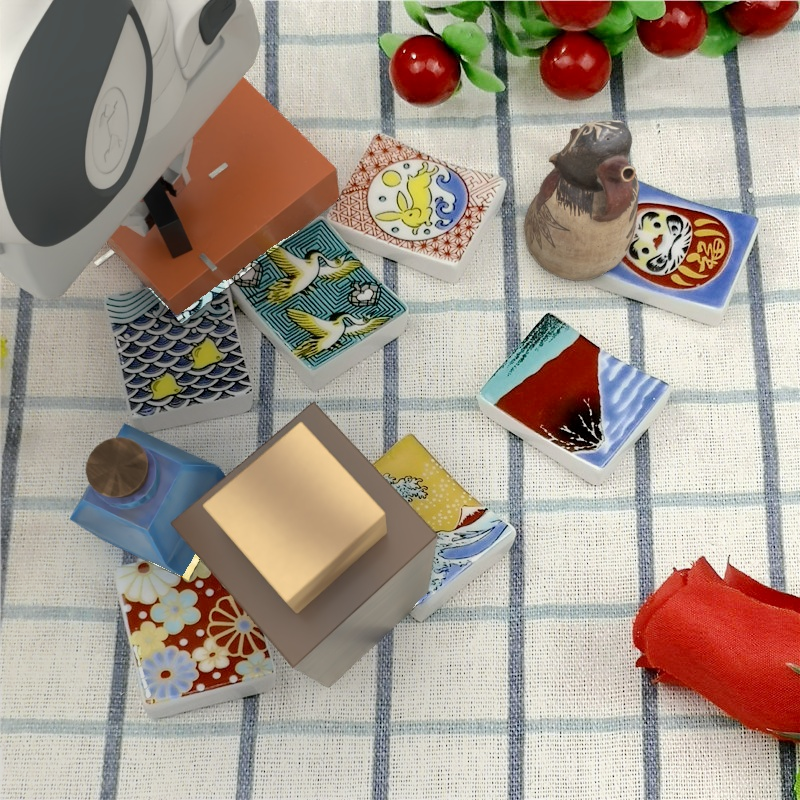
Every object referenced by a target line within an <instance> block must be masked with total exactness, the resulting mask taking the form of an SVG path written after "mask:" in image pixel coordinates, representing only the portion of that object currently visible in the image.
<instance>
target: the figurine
mask: <svg viewBox="0 0 800 800" xmlns="http://www.w3.org/2000/svg"><path fill="white" fill-rule="evenodd" d="M569 133H570V135H569V140H568V142H567V144H566V145H565V146H564V147H563V148H562V149H561V150H560V151H558V152H557V153H554V154H552V155H551V156H550V157H549V159H548V162H549V163H551V164H552V165H553V166H554V168H553V169H552V170H551V171H550V172H549V173H548V174H547V175H546V176H545V177H544V178H543V181H542V182H541V185H540V186H539V190H538V193H537V194H536V195H535V196H534V198H533V199H532V201H531V202H530V204H529V206H528V208H527V211H526V213H525V217H524V224H523V229H524V237H525V242H526V246H527V248H528V251H529V252H530V253H531V255H532V257H533V258H534V259H535V261H536V262H537V263H538V264H539V265H540V266H541V267H542V268H543V269H545V270H546V271H547V272H549V273H551V274H553V275H555V276H557V277H558V278H559V277H560V278H562V279H566V280H567V279H568V280H571V281H589V280H591V279H595V278H598V277H601V276H603V275H605V274H606V273H608V272H610V271H611V270H613V269H614V268H616V267H617V266H618V265H619V264H620V262H621V261H622V260H623V259H624V257H626V255H627V254H628V251H629V249H630V247H631V244H632V242H633V239H634V235H635V230H636V229H635V228H636V223H637V219H638V218H637V215H638V206H639V195H640V184H639V180H638V175H637V173H636V168H635V167H634V166H633V165H631V164H629V154H630V151H631V148H632V144H633V137H632V136H633V135H632V132H631V131H630V129H629V128H628V127H627V126H626V124H625V122H624V121H622V120H616V119H615V120H614V119H613V120H612V119H609V120H608V119H607V120H605V119H604V120H594V121H589V122H586V123H584V124H582V125H581V126H580V127H578V128H572V129H571V130H570V132H569ZM607 271H608V272H607ZM604 273H605V274H604ZM602 274H603V275H602Z"/></svg>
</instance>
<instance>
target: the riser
mask: <svg viewBox="0 0 800 800" xmlns="http://www.w3.org/2000/svg"><path fill="white" fill-rule="evenodd" d="M299 422H302V423H303V424H304V425H305V426H306V427H307V428H308V429H309V430H310V431H311V432H312V433H313V435H314V436H315V437H316V438H317V439H318V440H319V441H320V442H321V443H322V444H323V445H324V446H325V448H326V449H327V450H328V451H329V452H330V453H331V454H332V455H333V456H334V457H335V458H336V460H337V461H338V462H339V463H340V464H341V465H342V466H343V467H344V468H345V469H346V470H347V471H348V473H349V474H350V475H351V476H352V477H353V478H354V479H355V480H356V481H357V482H358V483H359V484H360V486H361V487H362V488H363V489H364V490H365V491H366V492H367V493H368V494H369V495H370V496H371V498H372V499H373V500H374V501H375V502H376V503H377V504H378V505H379V506H380V507H381V508H382V509H383V511H384V512H385V515H386V526H387V534H386V535H385V536H383V537H382V538H381V539H380V540H379V541H378V542H377V543H376V544H375V545H373V546H372V547H371V548H370V549H369V550H368V551H367V552H366V553H365V554H363V555H362V556H361V557H360V558H359V559H358V560H357V561H356V562H355V563H353V564H352V565H351V566H350V567H349V568H348V569H347V570H346V571H345V572H343V573H342V574H341V575H340V576H339V577H338V578H337V579H336V580H335V581H333V582H332V583H331V584H330V585H329V586H328V587H327V588H326V589H325V590H323V591H322V592H321V593H320V594H319V595H318V596H317V597H316V598H315V599H314V600H312V601H311V602H310V603H309V604H308V605H307V606H306V607H305V608H304V609H302V610H301V611H300V612H299V613H295V612H294V611H293V610H292V609H291V608H290V606H289V605H288V604H287V603H286V602H285V601H284V600H283V599H282V598H281V596H280V595H279V594H278V593H277V592H276V591H275V589H274V588H273V587H272V586H271V585H270V584H269V582H268V581H267V580H266V579H265V578H264V577H263V576H262V574H261V573H260V572H259V571H258V570H257V569H256V567H255V566H254V565H253V564H252V563H251V562H250V561H249V559H248V558H247V557H246V556H245V555H244V554H243V552H242V551H241V550H240V549H239V548H238V547H237V545H236V544H235V543H234V542H233V541H232V540H231V539H230V537H229V536H228V535H227V534H226V533H225V532H224V530H223V529H222V528H221V527H220V526H219V525H218V523H217V522H216V521H215V520H214V519H213V518H212V517H211V515H210V514H209V513H208V512H207V511H206V510H205V508H204V507H203V504H204V503H205V502H206V501H208V500H209V499H210V498H211V497H212V496H213V495H215V494H216V493H217V492H218V491H219V490H220V489H222V488H223V487H224V486H225V485H226V484H228V483H229V482H230V481H231V480H232V479H233V478H235V477H236V476H237V475H238V474H239V473H241V472H242V471H243V470H244V469H245V468H246V467H248V466H249V465H250V464H251V463H252V462H253V461H255V460H256V459H257V458H258V457H259V456H261V455H262V454H263V453H264V452H265V451H266V450H268V449H269V448H270V447H271V446H272V445H274V444H275V443H276V442H277V441H278V440H279V439H281V438H282V437H283V436H284V435H285V434H286V433H288V432H289V431H290V430H291V429H292V428H294V427H295V426H296V425H297V424H298V423H299ZM171 525H172V527H173V528H174V529H175V530H176V531H177V532H178V534H179V535H180V536H181V537H182V538H183V539H184V541H185V542H186V543H187V544H188V545H189V547H190V548H191V549H192V550H193V551H194V552H195V554H196V555H197V556H198V557H199V558H200V562H202V563H203V564H204V565H205V567H206V568H207V570H209V572H210V573H211V574H212V575H213V577H215V578H216V579H217V581H218V582H219V584H220V585H222V587H223V588H224V589H225V590H226V592H227V593H228V594H229V595H230V596H231V598H232V599H233V600H234V601H235V602H236V604H238V606H239V607H240V608H241V609H242V610H243V612H244V613H245V614H246V616H248V618H249V619H250V620H251V621H252V622H253V623H254V625H255V626H256V627H257V628H258V629H259V630H260V632H261V633H262V634H263V635H264V636H265V638H266V639H267V640H268V641H269V642H270V643H271V645H272V646H273V647H274V648H275V649H276V650H277V651H278V653H279V654H280V655H281V656H282V657H283V659H284V660H285V661H286V663H288V664H289V665H290V667H291V668H293V669H294V670H296V671H298V672H300V673H302V674H303V675H305V676H307V677H308V678H310V679H312V680H313V681H315V682H317V683H319V684H320V685H323V686H324V687H326V688H328V689H329V688H331V687H332V686H333V685H334V684H336V682H337V681H338V680H339V679H340V678H342V677H343V676H344V675H345V674H346V673H347V672H348V671H349V670H350V669H351V668H353V667H354V666H355V665H356V663H357V662H359V661H361V659H363V657H364V656H365V655H367V654H368V653H369V652H370V651H371V649H373V648H374V647H375V646H376V645H377V644H378V643H379V642H380V641H381V640H382V639H383V638H385V637H386V636H387V634H389V633H390V632H391V631H392V630H393V629H394V628H395V627H397V625H399V624H400V623H401V622H402V621H403V620H404V619H406V617H407V616H408V615H409V614H411V612H413V610H414V609H413V607H414V606H415V604H416V603H417V602H418V601H419V600H420V599H421V598H422V597H424V596H425V595H426V594H427V593H428V594H429V590H430V589H429V588H430V582H431V579H432V578H431V577H432V573H433V572H432V571H433V566H434V561H435V555H436V550H437V549H436V548H437V543H438V536H439V535H438V533H437V531H435V530H434V528H432V527H431V526H430V525H429V523H428V522H427V521H426V520H425V519H424V518H423V517H422V516H421V515H420V514H419V513H418V512H417V511H416V509H414V507H413V506H412V505H411V504H410V503H409V502H408V501H407V500H406V498H404V497H403V495H402V494H400V492H399V491H398V490H397V489H396V488H395V487H394V486H393V485H392V484H391V483H390V481H389V480H388V479H387V478H386V477H385V476H384V474H382V473H381V472H380V471H379V470H378V469H377V468H376V467H375V466H374V464H373V463H371V461H370V460H369V459H368V458H367V457H366V456H365V454H363V452H362V451H361V450H360V449H359V448H358V447H357V446H356V444H354V443H353V442H352V440H350V438H349V437H348V436H346V434H345V433H344V432H343V431H342V430H341V429H340V428H339V427H338V426H337V425H336V424H335V422H334V421H333V420H332V419H331V418H330V417H329V416H328V415H327V414H326V413H325V412H324V411H323V410H322V408H321V407H320V406H318V404H317V403H316V402H315V401H314V402H311V403H310V404H309V405H308V406H306V407H305V408H304V409H303V410H302V411H301V412H300V413H298V414H297V415H296V416H295V417H293V418H292V419H291V420H290V421H289V422H287V424H285V425H284V426H283V427H282V428H280V429H278V431H277V432H276V433H274V435H272V436H271V437H270V438H269V439H268V440H266V441H265V442H264V443H263V444H262V445H260V446H259V447H257V448H256V450H254V451H253V452H252V453H251V454H250V455H249V456H247V457H246V458H244V460H243V461H242V462H240V463H239V464H238V465H237V466H236V467H235V468H233V469H232V470H231V471H230V472H228V473H227V474H225V477H224V478H223V479H222V480H220V481H219V482H218V483H217V484H216V485H214V486H213V487H212V488H211V489H210V490H209V491H207V492H206V493H205V494H204V495H203V496H201V497H200V498H199V499H198V500H197V501H196V502H194V503H193V504H192V505H191V506H190V507H188V508H187V509H186V510H185V511H184V512H183V513H181V514H180V515H179V516H178V517H177V518H175V519H174V520H173V521H172V522H171ZM412 609H413V610H412Z"/></svg>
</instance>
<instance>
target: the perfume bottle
mask: <svg viewBox="0 0 800 800" xmlns="http://www.w3.org/2000/svg"><path fill="white" fill-rule="evenodd" d="M85 475H86V479H87V482H88V486H86V489H85V491H84V492H83V494H82V496H81V498H80V499H79V501H78V503H77V504H76V506H75V508H74V510H73V511H72V514H71V515H70V516H69V521H71V522H73V523H74V524H76V525H77V526H79V527H81V528H82V529H83V530H86V531H87V532H89V533H90V534H92V535H94V536H95V537H96V538H98V539H100V540H102V541H104V542H106V543H108V544H110V545H112V546H114V547H116V548H118V549H120V550H123V551H124V552H127V553H129V554H131V555H133V556H135V557H138V558H139V559H141V560H144V561H145V562H147V561H150V562H152V563H155V564H157V565H159V566H161V567H163V568H165V569H167V570H169V571H171V572H173V573H176V574H178V575H180V576H183V574H184V573H185V571H186V569H187V567H188V566H189V564H190V563H191V561H192V559H193V557H194V555H195V552H194V551H193V550H192V549H191V548H190V547H189V545H188V544H187V543H186V542H185V541H184V539H183V538H182V537H181V536H180V535H179V534H178V532H177V531H176V530H175V529H174V528H173V527H172V525H171V522H172V521H173V520H174V519H175V518H177V517H178V516H179V515H180V514H181V513H183V512H184V511H185V510H186V509H187V508H188V507H190V506H191V505H192V504H193V503H194V502H196V501H197V500H198V499H199V498H200V497H201V496H203V495H204V494H205V493H206V492H207V491H209V490H210V489H211V488H212V487H213V486H214V485H216V484H217V483H218V482H219V481H220V480H222V479H223V478H224V477H225V476H226V474H225V473H224V471H223V470H222V469H221V467H220V466H219V465H216V464H214V463H213V462H211V461H208V460H206V459H203V458H202V457H199V456H197V455H195V454H193V453H191V452H188V451H186V450H184V449H182V448H180V447H177V446H176V445H173V444H171V443H169V442H167V441H164V440H163V439H160V438H159V437H156V436H154V435H152V434H149V433H147V432H145V431H143V430H140V429H138V428H136V427H134V426H133V425H130V424H128V423H125V422H124V423H123V424H122V426H121V427H120V429H119V431H118V432H117V435H116V436H115V437H111V438H109V439H106V440H103V441H102V442H100V443H99V444H98V445H96V446H95V447H94V449H92V451H91V452H90V453H89V456H88V457H87V461H86V463H85ZM150 562H149V563H150ZM152 563H151V564H152Z"/></svg>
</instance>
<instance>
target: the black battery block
mask: <svg viewBox="0 0 800 800" xmlns="http://www.w3.org/2000/svg"><path fill="white" fill-rule="evenodd" d="M143 201H144V202H145V204H146V206H147V208H148V210H149V212H150V214H151V216H152V218H153V220H154V222H155V224H156V226H157V228H158V230H159V232H160V234H161V236H162V238H163V240H164V242H165V244H166V246H167V248H168V250H169V252H170V254H171V256H172V258H173V259H174V258H176V257H178V256H180V255H182V254H185V253H187V252H189V251H191V250H193V248H192V246H191V243H190V241H189V239H188V237H187V234H186V232H185V230H184V227H183V225H182V223H181V221H180V218H179V216H178V215H177V213H176V211H175V209H174V207H173V205H172V203H171V201H170V199H169V197H168V195H167V193H166V191H165V189H164V188H163V186H162V184H161V182H160V180H159V179H158V180H157V182H156V183H155V184H154V185H153V186H152V188H151V189H150V190H149V191H148V193H147V194H146V195H145V196H144V197H143Z"/></svg>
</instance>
